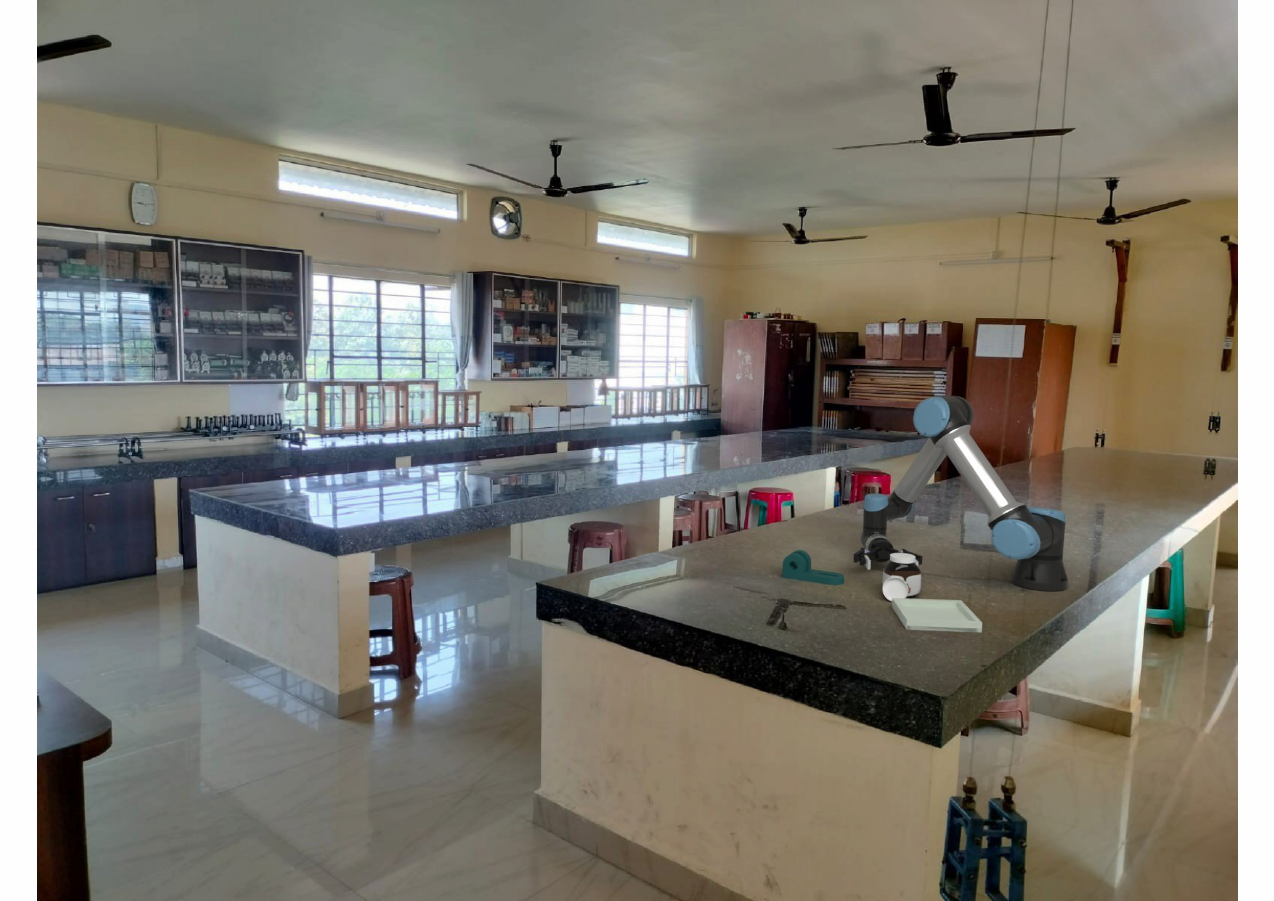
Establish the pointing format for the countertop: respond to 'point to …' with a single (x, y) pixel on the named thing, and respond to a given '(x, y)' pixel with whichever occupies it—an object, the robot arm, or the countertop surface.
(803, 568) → the bracket
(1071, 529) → the countertop surface
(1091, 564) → the countertop surface
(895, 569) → the spread jar
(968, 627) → the tray
